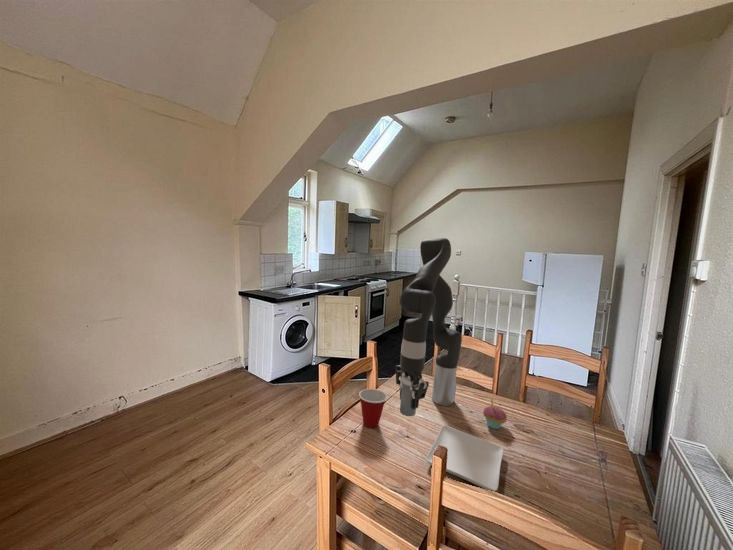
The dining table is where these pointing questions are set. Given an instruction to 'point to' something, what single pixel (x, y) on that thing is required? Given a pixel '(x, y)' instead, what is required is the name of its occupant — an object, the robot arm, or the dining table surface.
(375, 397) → the plastic cup
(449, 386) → the robot arm
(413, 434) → the dining table surface
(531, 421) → the dining table surface
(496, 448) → the salad plate
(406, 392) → the shaker
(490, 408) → the cupcake
